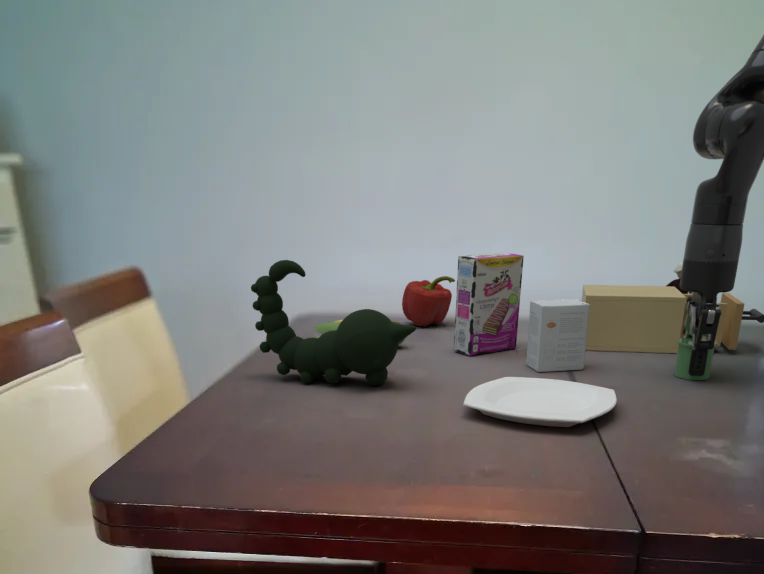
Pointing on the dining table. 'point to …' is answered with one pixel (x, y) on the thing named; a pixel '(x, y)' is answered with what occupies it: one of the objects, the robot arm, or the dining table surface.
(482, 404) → the plate
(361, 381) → the dining table surface
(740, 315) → the drawer
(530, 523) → the dining table surface
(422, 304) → the vegetable
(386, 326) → the toy figurine
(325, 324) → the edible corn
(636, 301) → the cabinet
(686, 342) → the pot
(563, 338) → the small box
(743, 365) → the dining table surface
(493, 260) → the candy bar box
